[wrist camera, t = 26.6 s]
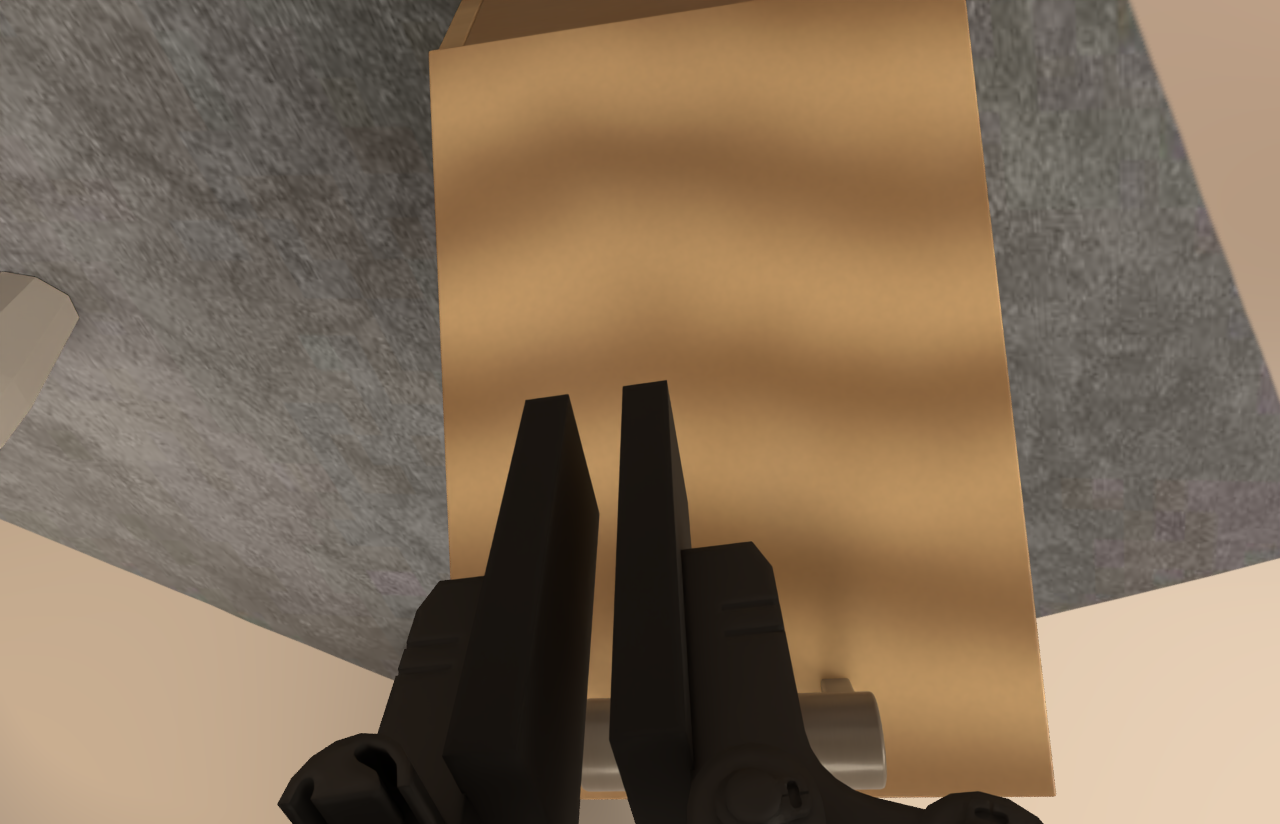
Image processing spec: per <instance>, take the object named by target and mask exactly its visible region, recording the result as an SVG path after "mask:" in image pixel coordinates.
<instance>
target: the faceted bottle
mask: <svg viewBox="0 0 1280 824" xmlns="http://www.w3.org/2000/svg"><path fill="white" fill-rule="evenodd" d="M78 319H79V316H78V314H77V312H76V310H75V308H74V306H73V304H72V302H71V300H70V298H69V296H68V295H66V294H65V293H63V292H61V291H59V290H57V289H56V288H54V287H52V286H50V285H49V284H47V283H45V282H43V281H42V280H40V279H38V278H36V277H32V276H26V275H20V274H14V273H8V272H1V273H0V450H1V448H2V447H3V446H4V444H5V443H6V442H7V440H8V439H9V438H10V436H11V435H12V433H13V432H14V431H15V429H16V428H17V427H18V425H19V424H20V423H21V421H22V420H23V419H24V417H25V416H26V415H27V413H28V412H29V411H30V409H31V408H32V406H33V404H34V402H35V400H36V398H37V396H38V394H39V393H40V391H41V389H42V387H43V385H44V383H45V381H46V379H47V377H48V376H49V374H50V372H51V370H52V368H53V366H54V364H55V362H56V360H57V359H58V357H59V355H60V353H61V351H62V349H63V347H64V345H65V344H66V342H67V340H68V338H69V336H70V334H71V332H72V330H73V328H74V327H75V325H76V323H77V321H78Z"/></svg>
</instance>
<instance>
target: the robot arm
mask: <svg viewBox="0 0 1280 824" xmlns="http://www.w3.org/2000/svg"><path fill="white" fill-rule="evenodd" d="M599 517H600V513H599V509H598V505H597V501H596V497H595V494H594V490H593V486H592V482H591V478H590V474H589V470H588V467H587V463H586V459H585V455H584V451H583V447H582V443H581V440H580V436H579V432H578V428H577V424H576V420H575V416H574V412H573V409H572V405H571V401H570V397H569V394H564V395H557V396H550V397H543V398H536V399H529V400H525V404H524V408H523V413H522V417H521V421H520V425H519V430H518V434H517V438H516V442H515V447H514V451H513V455H512V459H511V464H510V468H509V472H508V476H507V481H506V485H505V489H504V494H503V498H502V502H501V506H500V511H499V515H498V519H497V523H496V528H495V532H494V536H493V540H492V545H491V549H490V553H489V558H488V562H487V566H486V570H485V575H484V576H477V577H469V578H461V579H452V580H444V581H439V582H438V584H437V585H436V586H435V587H434V589H433V590H432V591H431V593H430V594H429V595H428V597H427V598H426V599H425V600H424V602H423V603H422V604H421V606H420V607H419V608H418V609H417V611H416V614H415V618H414V621H413V624H412V627H411V630H410V633H409V636H408V640H407V649H404V652H403V655H402V658H401V661H400V665H399V668H398V671H399V674H398V676H396V677H395V680H394V683H393V687H392V690H391V693H390V696H389V699H388V702H387V705H386V709H385V712H384V715H383V718H382V721H381V724H380V727H379V731H378V734H367V733H360V734H357V735H354V736H351V737H347V738H345V739H341V740H338V741H335V742H334V743H332V744H331V745H329V746H328V747H326V748H325V749H323V750H321V751H320V752H318V753H317V754H315V755H314V756H312V757H311V758H310V759H309V760H308V761H307V762H306V763H305V765H304V766H303V767H302V768H301V769H300V770H299V771H298V772H297V773H296V774H295V775H294V776H293V777H292V778H291V780H290V782H289V783H288V785H287V787H286V789H285V791H284V793H283V795H282V797H281V798H280V800H279V802H278V806H279V807H280V808H281V810H282V811H283V812H284V814H285V815H286V816H287V817H288V819H289V820H290V821H291V822H292V824H578V823H579V809H580V794H581V780H582V765H583V751H584V736H585V721H586V707H587V692H588V677H589V663H590V648H591V634H592V619H593V604H594V590H595V575H596V560H597V546H598V531H599ZM609 742H610V745H611V748H612V751H613V755H614V758H615V761H616V764H617V767H618V770H619V773H620V776H621V780H622V783H623V786H624V789H625V792H626V795H627V798H628V802H629V805H630V808H631V811H632V814H633V817H634V820H635V823H636V824H1043V823H1042V821H1041V820H1040V819H1039V818H1038V817H1037V816H1035V815H1033V814H1032V813H1030V812H1029V811H1027V810H1025V809H1024V808H1022V807H1021V806H1019V805H1017V804H1016V803H1014V802H1013V801H1011V800H1009V799H1006V798H1003V797H999V796H995V795H992V794H988V793H984V792H980V791H973V792H961V793H950V794H948V795H947V796H945V797H943V798H941V799H939V800H937V801H936V802H934V803H932V804H930V805H928V806H927V808H926V809H921V808H917V807H913V806H908V805H904V804H900V803H896V802H892V801H888V800H883V799H879V798H875V797H873V796H870V795H867V794H864V793H861V792H859V791H856V790H854V789H852V788H851V787H849V786H847V785H846V784H844V783H843V782H841V781H839V780H838V779H836V778H835V777H834V776H833V775H832V774H831V773H830V772H829V771H828V770H827V769H826V768H825V767H824V766H823V765H822V764H821V763H820V761H819V760H818V758H817V756H816V755H815V753H814V752H813V750H812V749H811V747H810V744H809V741H808V738H807V735H806V732H805V728H804V723H803V718H802V713H801V708H800V703H799V698H798V693H797V687H796V682H795V677H794V672H793V667H792V662H791V657H790V652H789V647H788V642H787V637H786V632H785V628H784V622H783V617H782V612H781V607H780V603H779V597H778V592H777V587H776V582H775V577H774V572H773V567H772V565H771V564H770V563H769V562H768V560H767V559H766V558H765V557H764V555H763V554H762V553H761V552H760V550H759V549H758V548H757V547H756V545H755V544H754V543H753V542H752V541H749V542H741V543H732V544H724V545H716V546H707V547H699V548H692V547H691V534H690V521H689V509H688V499H687V494H686V488H685V482H684V476H683V470H682V465H681V459H680V453H679V447H678V441H677V436H676V430H675V424H674V418H673V413H672V407H671V401H670V395H669V389H668V384H667V380H663V381H656V382H649V383H641V384H634V385H627V386H623V388H622V414H621V440H620V465H619V491H618V517H617V543H616V568H615V594H614V620H613V645H612V671H611V697H610V723H609Z"/></svg>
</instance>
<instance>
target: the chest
mask: <svg viewBox="0 0 1280 824" xmlns="http://www.w3.org/2000/svg"><path fill="white" fill-rule="evenodd" d="M744 1H751V0H462V1H461V3H460V5H459V7H458V9H457V11H456V13H455V15H454V18H453V20H452V22H451V24H450V26H449V28H448V30H447V33H446V35H445V37H444V39H443V41H442V43H441V45H440V48H439V49H445V48H451V47H458V46H464V45H470V44H477V43H483V42H490V41H496V40H502V39H509V38H515V37H521V36H528V35H534V34H541V33H547V32H553V31H560V30H566V29H572V28H579V27H585V26H592V25H598V24H604V23H611V22H617V21H623V20H630V19H636V18H643V17H649V16H655V15H662V14H668V13H674V12H681V11H687V10H694V9H700V8H706V7H713V6H719V5H725V4H732V3H738V2H744Z"/></svg>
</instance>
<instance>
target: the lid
mask: <svg viewBox="0 0 1280 824" xmlns="http://www.w3.org/2000/svg"><path fill="white" fill-rule="evenodd" d="M429 76H430V100H431V124H432V147H433V171H434V195H435V219H436V243H437V267H438V291H439V315H440V339H441V363H442V387H443V411H444V435H445V459H446V483H447V507H448V531H449V555H450V579H451V580H452V579H461V578H469V577H477V576H484V575H485V570H486V566H487V562H488V558H489V553H490V549H491V545H492V540H493V536H494V532H495V528H496V523H497V519H498V515H499V511H500V506H501V502H502V498H503V494H504V489H505V485H506V481H507V476H508V472H509V468H510V464H511V459H512V455H513V451H514V447H515V442H516V438H517V434H518V430H519V425H520V421H521V417H522V413H523V408H524V404H525V400H529V399H536V398H543V397H550V396H557V395H564V394H569V397H570V401H571V405H572V409H573V412H574V416H575V420H576V424H577V428H578V432H579V436H580V440H581V443H582V447H583V451H584V455H585V459H586V463H587V467H588V470H589V474H590V478H591V482H592V486H593V490H594V494H595V497H596V501H597V505H598V509H599V513H600V517H599V531H598V546H597V560H596V575H595V590H594V604H593V619H592V634H591V648H590V663H589V677H588V692H587V707H586V721H585V736H584V751H583V765H582V780H581V794H580V799H628V798H627V795H626V792H625V789H624V786H623V783H622V780H621V776H620V773H619V770H618V767H617V764H616V761H615V758H614V755H613V751H612V748H611V745H610V742H609V723H610V697H611V671H612V645H613V620H614V594H615V568H616V543H617V517H618V491H619V465H620V440H621V414H622V388H623V386H627V385H634V384H641V383H649V382H656V381H663V380H667V384H668V389H669V395H670V401H671V407H672V413H673V418H674V424H675V430H676V436H677V441H678V447H679V453H680V459H681V465H682V470H683V476H684V482H685V488H686V494H687V499H688V509H689V521H690V534H691V547H692V548H699V547H707V546H716V545H724V544H732V543H741V542H749V541H752V542H753V543H754V544H755V545H756V547H757V548H758V549H759V550H760V552H761V553H762V554H763V555H764V557H765V558H766V559H767V560H768V562H769V563H770V564H771V565H772V567H773V572H774V577H775V582H776V587H777V592H778V597H779V603H780V607H781V612H782V617H783V622H784V628H785V632H786V637H787V642H788V647H789V652H790V657H791V662H792V667H793V672H794V677H795V682H796V687H797V693H798V698H799V703H800V708H801V713H802V718H803V723H804V728H805V732H806V735H807V738H808V741H809V744H810V747H811V749H812V750H813V752H814V753H815V755H816V756H817V758H818V760H819V761H820V763H821V764H822V765H823V766H824V767H825V768H826V769H827V770H828V771H829V772H830V773H831V774H832V775H833V776H834V777H835V778H836V779H838V780H839V781H841V782H843V783H844V784H846V785H847V786H849V787H851V788H852V789H854V790H856V791H859V792H861V793H864V794H867V795H870V796H873V797H875V798H889V797H890V798H892V797H893V798H895V797H896V798H897V797H945V796H947V795H948V794H950V793H961V792H973V791H980V792H984V793H988V794H992V795H995V796H999V797H1048V796H1049V797H1051V796H1052V797H1053V796H1056V789H1055V782H1054V781H1055V780H1054V772H1053V764H1052V754H1051V746H1050V737H1049V728H1048V720H1047V710H1046V701H1045V693H1044V684H1043V676H1042V666H1041V658H1040V649H1039V640H1038V632H1037V623H1036V614H1035V605H1034V596H1033V587H1032V579H1031V570H1030V561H1029V552H1028V544H1027V535H1026V526H1025V517H1024V508H1023V500H1022V491H1021V482H1020V473H1019V465H1018V456H1017V447H1016V438H1015V429H1014V421H1013V412H1012V403H1011V394H1010V386H1009V377H1008V368H1007V359H1006V350H1005V342H1004V333H1003V324H1002V315H1001V307H1000V298H999V289H998V280H997V271H996V263H995V254H994V245H993V236H992V228H991V219H990V210H989V201H988V192H987V184H986V175H985V166H984V157H983V149H982V140H981V131H980V122H979V114H978V105H977V96H976V87H975V78H974V70H973V61H972V52H971V43H970V35H969V26H968V17H967V8H966V0H751V1H744V2H738V3H732V4H725V5H719V6H713V7H706V8H700V9H694V10H687V11H681V12H674V13H668V14H662V15H655V16H649V17H643V18H636V19H630V20H623V21H617V22H611V23H604V24H598V25H592V26H585V27H579V28H572V29H566V30H560V31H553V32H547V33H541V34H534V35H528V36H521V37H515V38H509V39H502V40H496V41H490V42H483V43H477V44H470V45H464V46H458V47H451V48H445V49H439V50H432V51H429Z"/></svg>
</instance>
